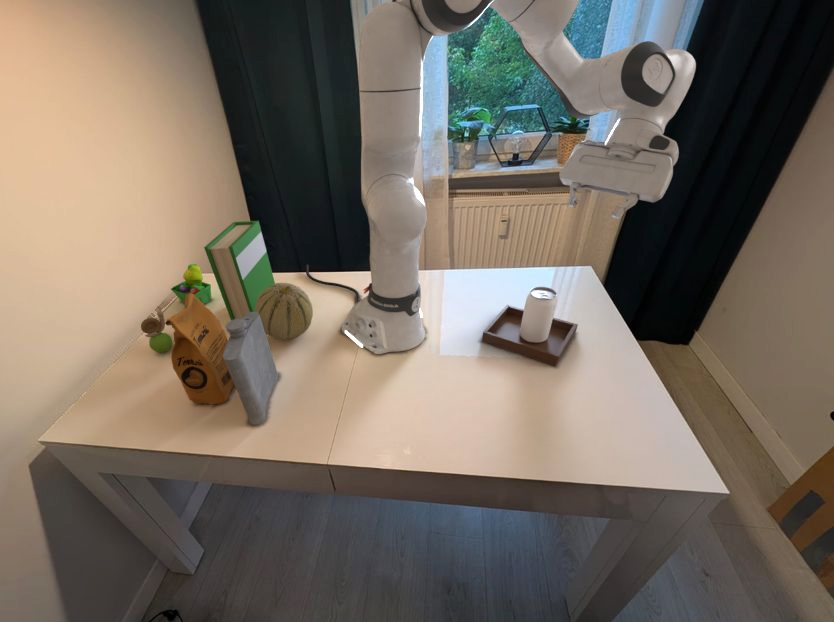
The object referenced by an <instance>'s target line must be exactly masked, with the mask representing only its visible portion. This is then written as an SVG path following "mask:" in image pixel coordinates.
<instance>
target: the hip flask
mask: <svg viewBox="0 0 834 622" xmlns="http://www.w3.org/2000/svg"><path fill="white" fill-rule="evenodd" d="M225 329H226V331H227V332H228V333H229V338H228V342H227V345H226V347H225V351H224V355H223V358H224V361H225V363H226V365H227V368H228V370H229V373H230V375H231V377H232V380H233V382H234V385H235V387H234V388H235V389H236V392H237V394H238V396H239V399H240V402H241V403H242V406H243V408H244V411H245V413H246V416H247V417H248V420H249V423H250V424H251V425H253V426H259V425H261V424H263V423H264V422H265V420H266V416H267V415H266V413H267V406H268V403H269V400H270V397H271V393H272V391H273V389H274V386H275V385H276V383H277V381H278V380H279V377H280V376H279V373H278V370H277V366H276V363H275V359H274V356H273V353H272V351H271V348H270V344H269V341H268V338H267V334H266V333H265V331H264V328H263V325H262V322H261V318H260V315H259V313H258V312H249V313H247V314H246V315H245V316H244V317H243V318H242V319H234V320H231V319H230V321H227V323H226V324H225Z"/></svg>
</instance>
